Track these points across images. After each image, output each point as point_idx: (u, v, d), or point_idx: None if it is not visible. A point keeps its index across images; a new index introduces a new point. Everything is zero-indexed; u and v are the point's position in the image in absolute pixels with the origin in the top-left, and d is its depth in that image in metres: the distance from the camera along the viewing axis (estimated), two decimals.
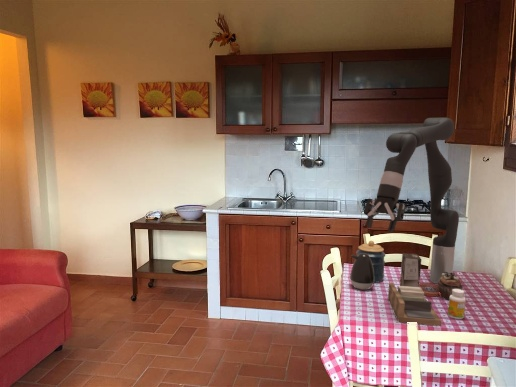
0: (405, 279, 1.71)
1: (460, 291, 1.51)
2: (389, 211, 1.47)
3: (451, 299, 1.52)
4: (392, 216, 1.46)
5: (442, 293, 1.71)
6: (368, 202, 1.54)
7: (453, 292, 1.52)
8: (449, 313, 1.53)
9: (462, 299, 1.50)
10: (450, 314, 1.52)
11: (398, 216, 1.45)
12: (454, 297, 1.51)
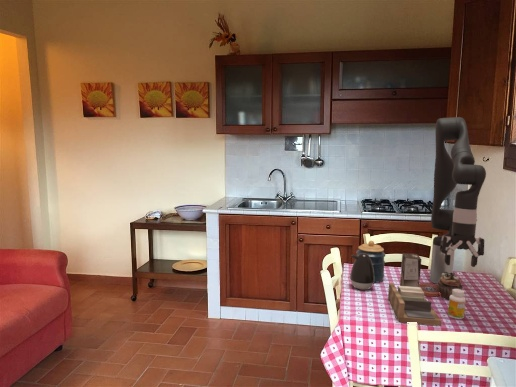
0: (405, 279, 1.71)
1: (460, 291, 1.51)
2: (472, 249, 1.48)
3: (451, 299, 1.52)
4: (475, 253, 1.49)
5: (442, 293, 1.71)
6: (445, 240, 1.50)
7: (453, 292, 1.52)
8: (449, 313, 1.53)
9: (462, 299, 1.50)
10: (450, 314, 1.52)
11: (482, 252, 1.48)
12: (454, 297, 1.51)
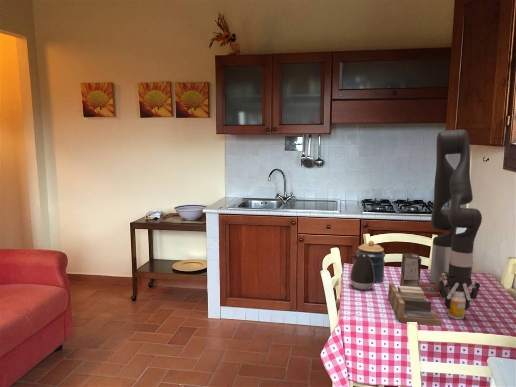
0: (405, 279, 1.71)
1: (460, 291, 1.51)
2: (467, 292, 1.50)
3: (451, 299, 1.52)
4: (468, 296, 1.51)
5: None
6: (442, 284, 1.51)
7: None
8: (449, 313, 1.53)
9: (462, 299, 1.50)
10: (450, 314, 1.52)
11: (474, 296, 1.50)
12: (454, 297, 1.51)
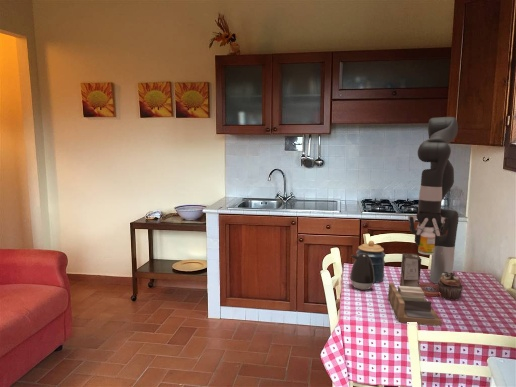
0: (405, 279, 1.71)
1: (430, 227, 1.51)
2: (436, 227, 1.49)
3: (421, 235, 1.51)
4: (438, 232, 1.50)
5: (442, 293, 1.71)
6: (412, 220, 1.51)
7: (423, 228, 1.51)
8: (419, 250, 1.52)
9: (432, 234, 1.49)
10: (420, 250, 1.51)
11: (444, 231, 1.50)
12: (424, 233, 1.50)
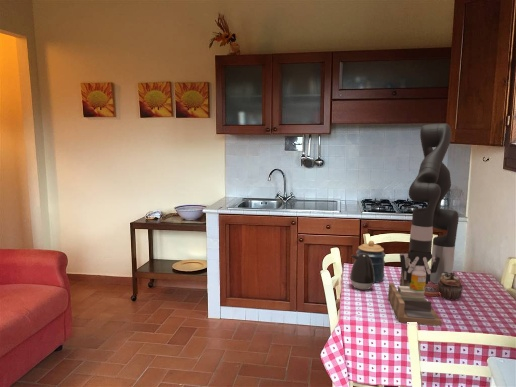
0: (405, 279, 1.71)
1: (420, 265, 1.53)
2: (427, 266, 1.52)
3: (412, 273, 1.53)
4: (428, 270, 1.52)
5: (442, 293, 1.71)
6: (403, 259, 1.53)
7: (414, 266, 1.53)
8: (410, 287, 1.54)
9: (422, 273, 1.52)
10: (411, 288, 1.54)
11: (435, 270, 1.52)
12: (415, 271, 1.53)
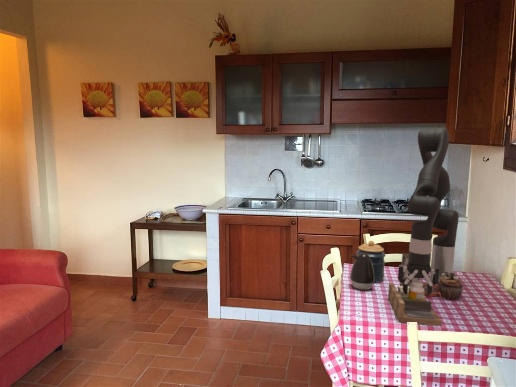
0: None
1: (419, 282, 1.54)
2: (427, 278, 1.52)
3: (410, 290, 1.54)
4: (430, 282, 1.53)
5: (442, 293, 1.71)
6: (401, 270, 1.54)
7: (412, 283, 1.54)
8: None
9: (421, 290, 1.53)
10: None
11: (436, 282, 1.52)
12: (413, 288, 1.54)
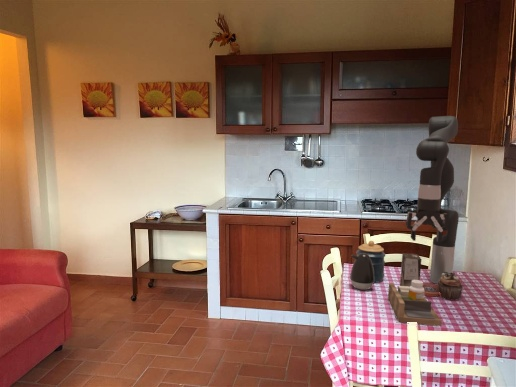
0: (405, 279, 1.71)
1: (419, 282, 1.54)
2: (437, 224, 1.51)
3: (410, 290, 1.54)
4: (440, 228, 1.52)
5: (442, 293, 1.71)
6: (410, 216, 1.53)
7: (412, 283, 1.54)
8: None
9: (421, 290, 1.53)
10: None
11: (446, 227, 1.52)
12: (413, 288, 1.54)
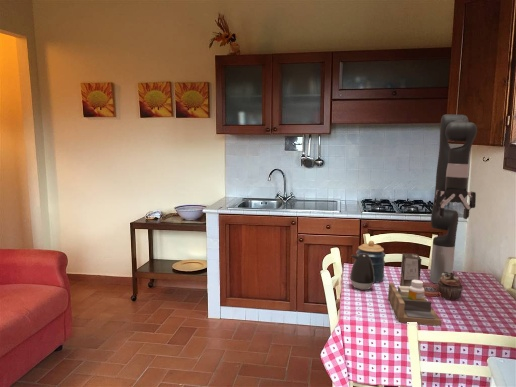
0: (405, 279, 1.71)
1: (419, 282, 1.54)
2: (464, 201, 1.58)
3: (410, 290, 1.54)
4: (467, 205, 1.59)
5: (442, 293, 1.71)
6: (439, 194, 1.59)
7: (412, 283, 1.54)
8: None
9: (421, 290, 1.53)
10: None
11: (473, 205, 1.58)
12: (413, 288, 1.54)
